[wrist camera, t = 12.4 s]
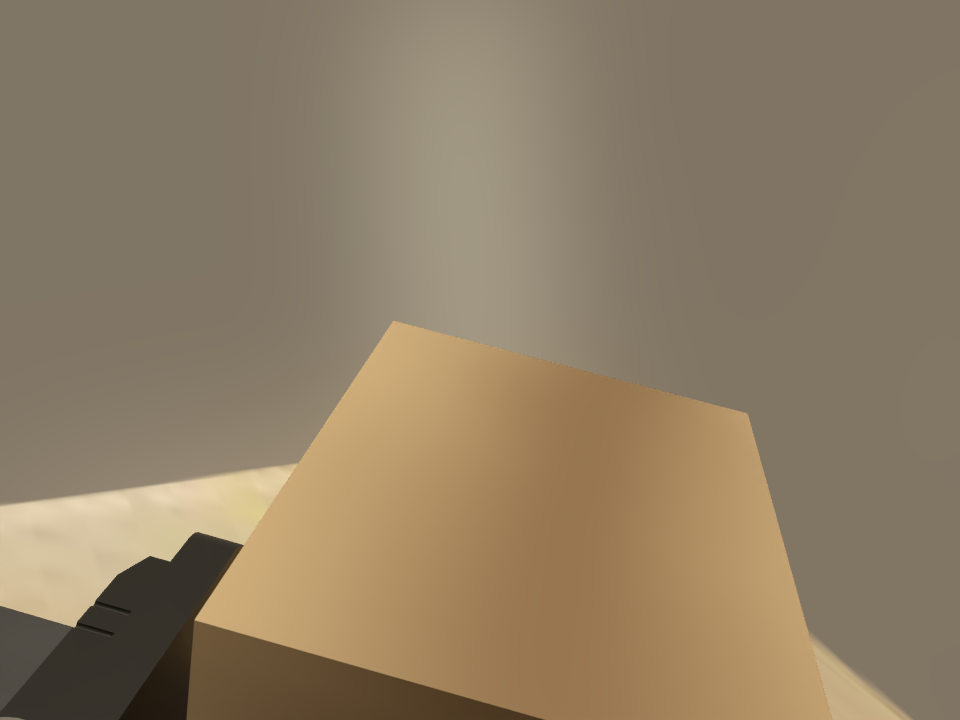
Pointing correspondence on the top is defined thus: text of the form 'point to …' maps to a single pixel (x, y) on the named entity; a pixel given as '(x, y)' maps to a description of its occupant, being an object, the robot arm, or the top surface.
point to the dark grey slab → (24, 648)
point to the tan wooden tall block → (510, 558)
